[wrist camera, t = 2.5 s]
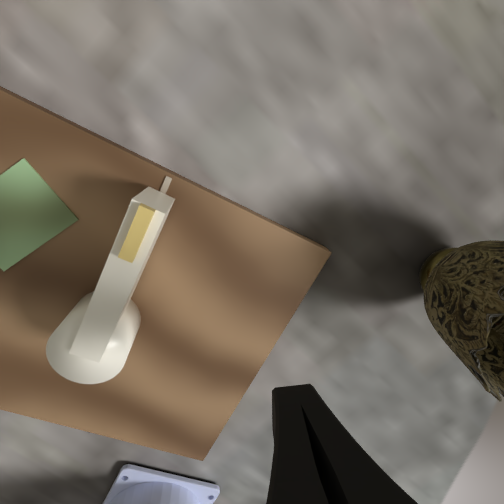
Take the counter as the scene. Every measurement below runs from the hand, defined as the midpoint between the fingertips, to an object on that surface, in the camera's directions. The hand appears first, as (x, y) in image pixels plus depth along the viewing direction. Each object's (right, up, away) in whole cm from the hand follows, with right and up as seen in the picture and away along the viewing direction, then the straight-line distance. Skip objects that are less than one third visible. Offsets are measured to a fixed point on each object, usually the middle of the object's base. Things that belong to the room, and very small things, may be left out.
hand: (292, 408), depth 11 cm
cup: (+11, +4, +10) cm, 16 cm away
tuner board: (-10, +2, +8) cm, 13 cm away
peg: (-8, +4, +6) cm, 11 cm away
